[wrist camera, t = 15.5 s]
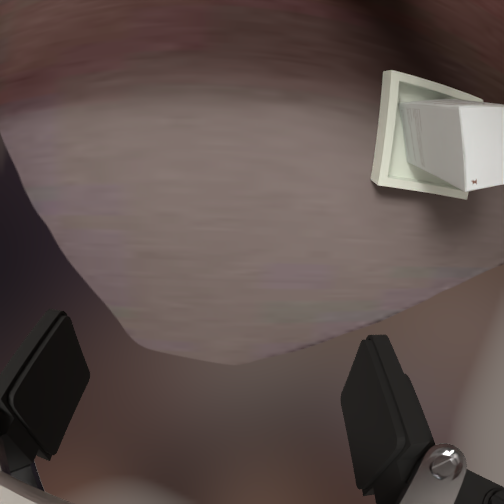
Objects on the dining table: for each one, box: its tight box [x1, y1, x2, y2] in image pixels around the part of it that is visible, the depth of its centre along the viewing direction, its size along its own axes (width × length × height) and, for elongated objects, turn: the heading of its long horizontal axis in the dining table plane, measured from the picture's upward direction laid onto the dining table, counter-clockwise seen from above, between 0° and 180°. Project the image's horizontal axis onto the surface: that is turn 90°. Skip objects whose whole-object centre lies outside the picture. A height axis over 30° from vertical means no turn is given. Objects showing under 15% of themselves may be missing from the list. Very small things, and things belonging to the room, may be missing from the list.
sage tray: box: [371, 70, 483, 200], centre depth 31 cm, size 13×13×2 cm
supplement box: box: [398, 99, 504, 192], centre depth 25 cm, size 7×7×13 cm
